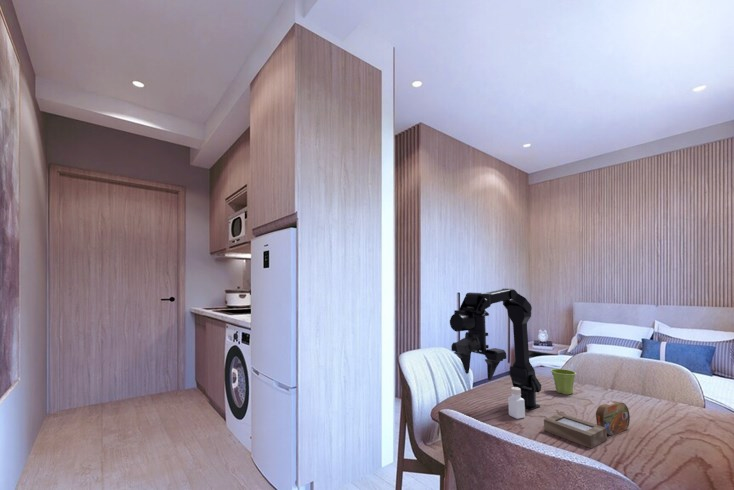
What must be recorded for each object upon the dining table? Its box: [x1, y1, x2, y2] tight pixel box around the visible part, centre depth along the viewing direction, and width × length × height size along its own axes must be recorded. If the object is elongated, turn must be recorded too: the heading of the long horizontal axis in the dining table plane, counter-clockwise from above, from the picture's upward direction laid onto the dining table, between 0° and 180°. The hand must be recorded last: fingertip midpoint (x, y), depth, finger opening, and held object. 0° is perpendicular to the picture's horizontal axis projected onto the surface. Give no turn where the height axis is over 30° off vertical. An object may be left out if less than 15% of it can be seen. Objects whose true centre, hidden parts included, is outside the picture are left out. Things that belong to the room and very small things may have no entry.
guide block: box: [543, 412, 608, 449], centre depth 103 cm, size 10×13×3 cm
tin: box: [595, 400, 631, 436], centre depth 107 cm, size 15×3×8 cm, turn 117°
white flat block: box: [558, 418, 593, 431], centre depth 103 cm, size 5×8×1 cm, turn 33°
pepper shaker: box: [507, 386, 526, 420], centre depth 117 cm, size 4×4×10 cm
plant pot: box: [550, 368, 577, 395], centre depth 144 cm, size 9×9×9 cm
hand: (478, 376), depth 113 cm, fingers open, 9 cm apart
